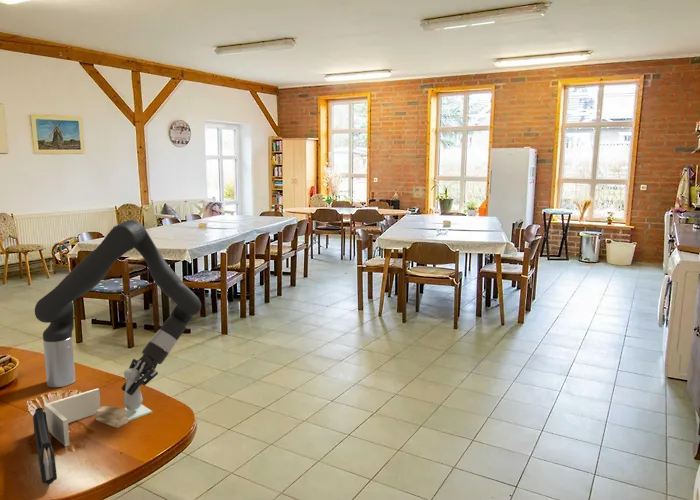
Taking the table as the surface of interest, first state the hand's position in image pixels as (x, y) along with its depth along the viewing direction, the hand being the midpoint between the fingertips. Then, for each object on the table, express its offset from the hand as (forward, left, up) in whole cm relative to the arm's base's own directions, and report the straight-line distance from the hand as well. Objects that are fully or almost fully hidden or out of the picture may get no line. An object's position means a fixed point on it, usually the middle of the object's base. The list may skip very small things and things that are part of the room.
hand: (126, 392), depth 168 cm
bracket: (-2, -13, -8) cm, 15 cm away
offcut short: (0, -5, -6) cm, 8 cm away
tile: (0, +2, -8) cm, 8 cm away
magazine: (+10, -28, -8) cm, 30 cm away
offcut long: (0, -5, -8) cm, 10 cm away
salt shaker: (0, +2, -6) cm, 6 cm away
